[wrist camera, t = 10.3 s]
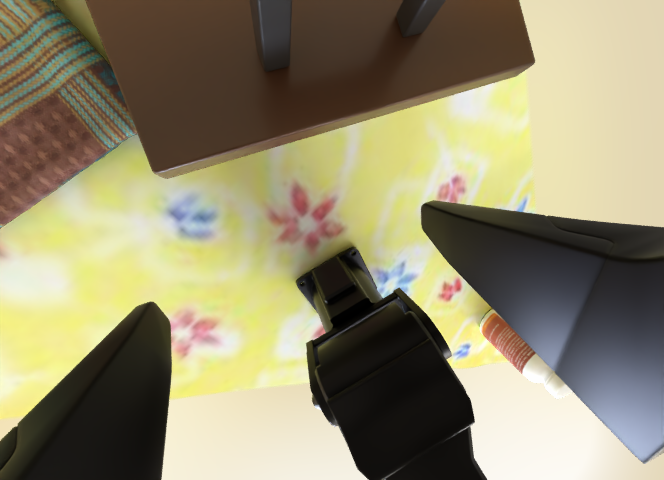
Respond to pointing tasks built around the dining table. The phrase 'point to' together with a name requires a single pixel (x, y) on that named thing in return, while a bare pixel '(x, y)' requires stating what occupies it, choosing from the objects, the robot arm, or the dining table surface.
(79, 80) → the dish towel
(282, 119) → the lid
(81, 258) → the dining table surface
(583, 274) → the robot arm
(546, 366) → the pill bottle
